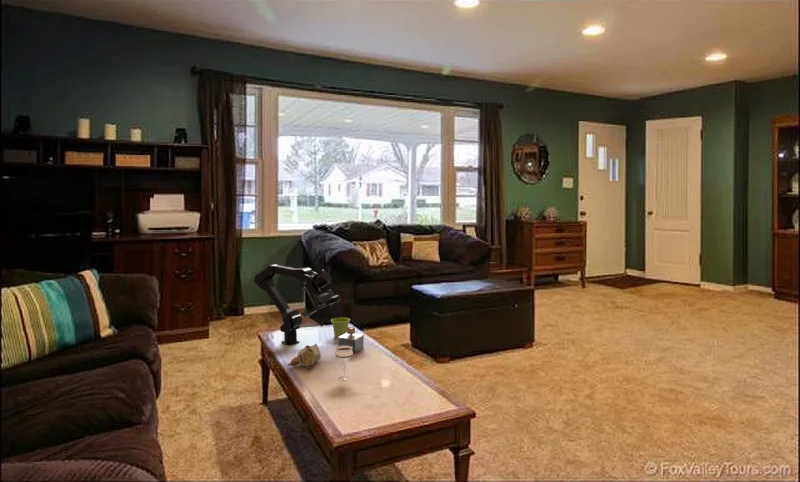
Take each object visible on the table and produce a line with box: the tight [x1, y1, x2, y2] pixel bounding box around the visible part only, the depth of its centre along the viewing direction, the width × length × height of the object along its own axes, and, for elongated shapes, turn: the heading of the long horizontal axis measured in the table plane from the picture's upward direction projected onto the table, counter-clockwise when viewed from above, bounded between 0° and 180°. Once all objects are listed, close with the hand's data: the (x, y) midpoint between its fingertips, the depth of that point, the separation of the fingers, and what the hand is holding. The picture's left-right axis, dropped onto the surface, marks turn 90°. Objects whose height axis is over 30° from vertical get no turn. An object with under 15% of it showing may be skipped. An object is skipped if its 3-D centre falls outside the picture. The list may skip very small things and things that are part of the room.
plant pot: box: [330, 317, 351, 339], centre depth 255 cm, size 9×9×9 cm
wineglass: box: [335, 345, 354, 381], centre depth 198 cm, size 7×7×12 cm
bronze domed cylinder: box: [347, 326, 356, 336], centre depth 232 cm, size 4×4×9 cm
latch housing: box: [337, 332, 365, 355], centre depth 234 cm, size 9×11×7 cm
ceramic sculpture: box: [287, 343, 322, 369], centre depth 213 cm, size 11×9×15 cm
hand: (330, 322), depth 235 cm, fingers open, 9 cm apart
